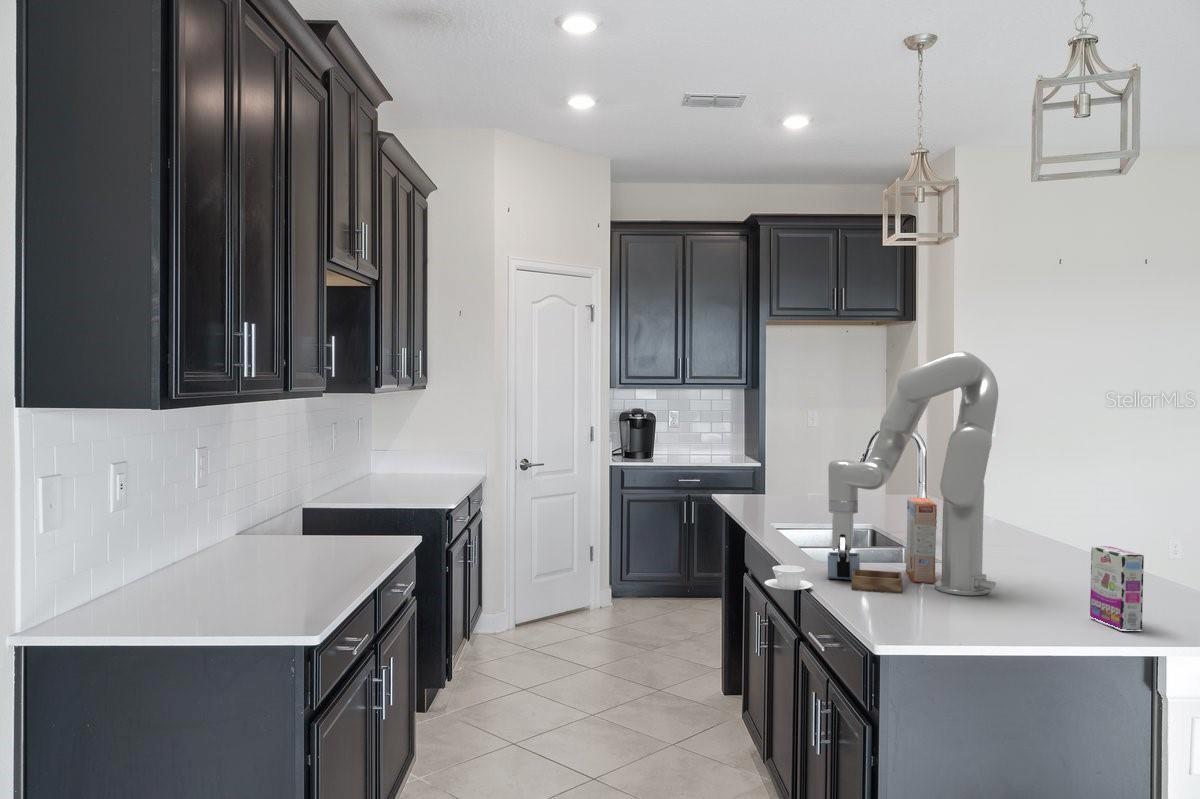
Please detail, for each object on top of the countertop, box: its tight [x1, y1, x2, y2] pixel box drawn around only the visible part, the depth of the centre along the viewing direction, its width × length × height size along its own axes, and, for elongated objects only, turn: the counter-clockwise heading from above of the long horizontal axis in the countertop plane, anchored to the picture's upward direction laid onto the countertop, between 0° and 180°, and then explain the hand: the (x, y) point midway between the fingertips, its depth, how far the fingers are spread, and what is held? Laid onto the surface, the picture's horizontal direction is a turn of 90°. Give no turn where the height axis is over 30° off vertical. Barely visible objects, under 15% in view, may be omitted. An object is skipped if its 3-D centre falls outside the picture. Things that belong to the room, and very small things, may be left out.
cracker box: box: [905, 497, 938, 584], centre depth 243 cm, size 14×6×21 cm, turn 168°
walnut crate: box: [851, 569, 903, 594], centre depth 230 cm, size 12×9×4 cm
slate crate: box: [827, 551, 861, 581], centre depth 241 cm, size 8×6×6 cm
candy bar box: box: [1089, 545, 1145, 631], centre depth 196 cm, size 11×5×16 cm, turn 5°
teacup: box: [764, 564, 814, 592], centre depth 229 cm, size 12×12×5 cm
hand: (843, 573), depth 241 cm, fingers closed on slate crate, 5 cm apart
